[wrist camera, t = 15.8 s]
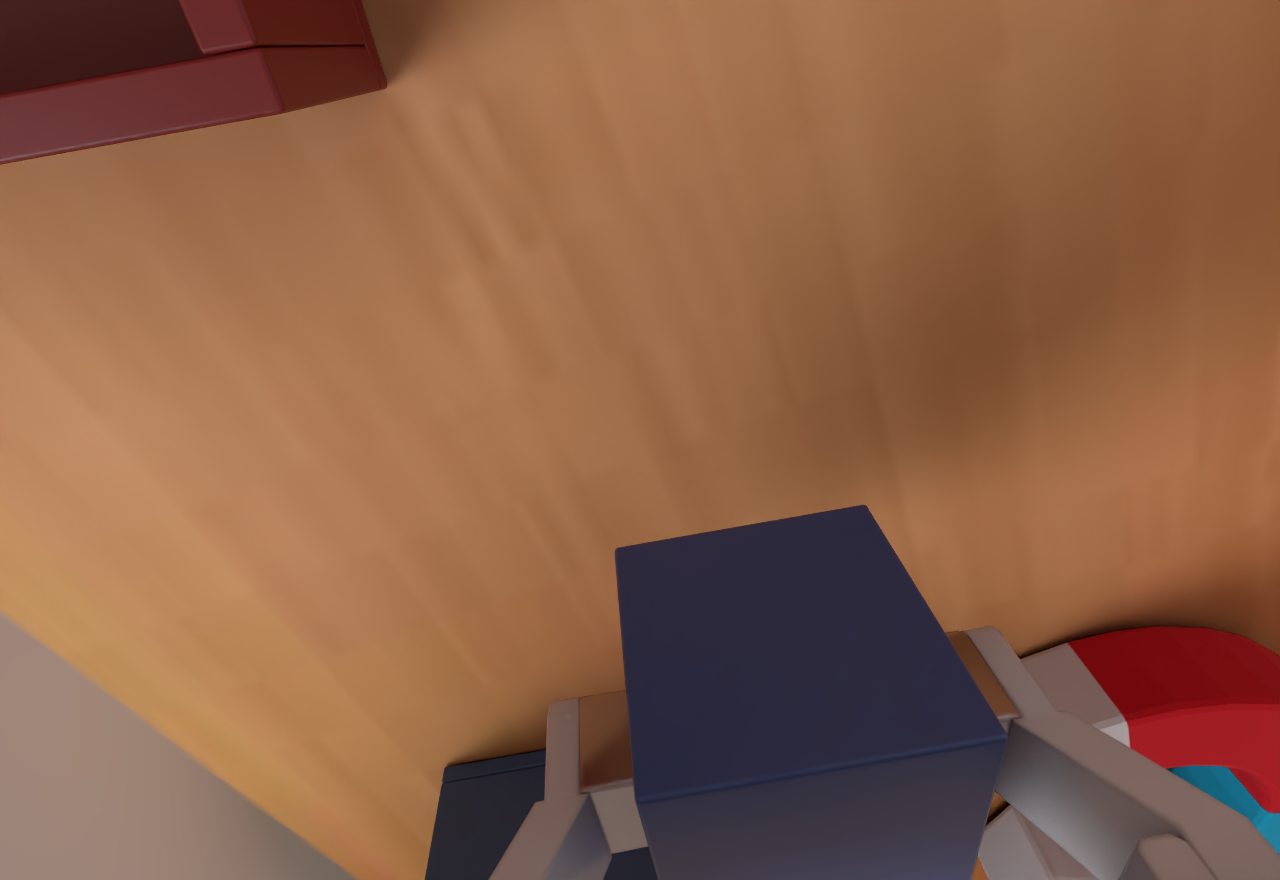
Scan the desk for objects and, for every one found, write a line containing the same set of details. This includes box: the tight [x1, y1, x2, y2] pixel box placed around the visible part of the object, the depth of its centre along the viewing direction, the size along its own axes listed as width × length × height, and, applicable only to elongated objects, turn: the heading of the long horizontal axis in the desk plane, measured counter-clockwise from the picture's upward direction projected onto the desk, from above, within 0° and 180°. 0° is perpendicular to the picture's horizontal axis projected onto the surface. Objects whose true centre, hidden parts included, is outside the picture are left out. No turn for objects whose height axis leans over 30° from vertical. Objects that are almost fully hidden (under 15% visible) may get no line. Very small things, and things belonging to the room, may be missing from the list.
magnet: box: [978, 626, 1280, 880], centre depth 21 cm, size 12×3×10 cm
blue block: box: [615, 505, 1008, 880], centre depth 11 cm, size 4×4×4 cm
